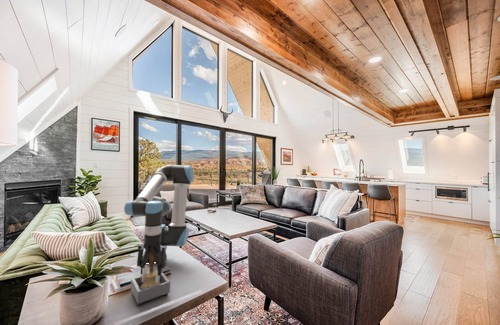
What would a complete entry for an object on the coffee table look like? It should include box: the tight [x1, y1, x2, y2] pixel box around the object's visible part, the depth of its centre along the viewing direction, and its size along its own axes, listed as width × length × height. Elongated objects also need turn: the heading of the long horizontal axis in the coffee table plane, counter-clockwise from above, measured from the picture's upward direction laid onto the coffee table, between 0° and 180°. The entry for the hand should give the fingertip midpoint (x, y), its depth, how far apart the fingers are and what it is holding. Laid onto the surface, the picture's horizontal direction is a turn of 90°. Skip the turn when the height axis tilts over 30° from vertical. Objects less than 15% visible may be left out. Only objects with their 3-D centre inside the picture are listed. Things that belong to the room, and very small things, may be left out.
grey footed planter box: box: [130, 271, 171, 307], centre depth 102 cm, size 14×14×7 cm
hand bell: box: [141, 253, 160, 290], centre depth 101 cm, size 8×8×16 cm
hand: (150, 281), depth 101 cm, fingers closed on hand bell, 6 cm apart
